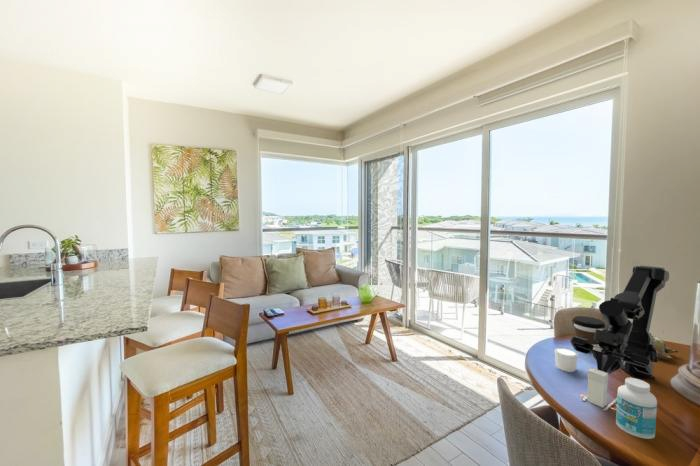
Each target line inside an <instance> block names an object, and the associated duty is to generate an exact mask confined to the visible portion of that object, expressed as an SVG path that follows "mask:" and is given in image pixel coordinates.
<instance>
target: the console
mask: <svg viewBox="0 0 700 466" xmlns="http://www.w3.org/2000/svg"><path fill="white" fill-rule="evenodd" d="M579 396H581V397H583V398H582V399H581V401H582V402H586V401H587V395H584V394H582V393H581V394H579ZM613 406H617V397H615V398H614V399H613V400H612V401H611V402H610V403H608V404H607V405H606V406H605V407H604V408H602V410H603V411H604V412H607V411H608V410H609V409H611V410H613V411H616V410H617V408H615V407H613Z"/></svg>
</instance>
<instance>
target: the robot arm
mask: <svg viewBox="0 0 700 466" xmlns="http://www.w3.org/2000/svg"><path fill="white" fill-rule="evenodd" d="M669 279H670V272H669V271H668V270H666V269H665V267H660V266H658V267H657V266H652V265H651V266H650V265H637V266H635V265H634V266H633V267H632V274H631V276H630V278H629V279H628V282H627V283H626V286H625V288H624V290H622V292H620V293H617V294H615V295H614V297H610V299H609V300H605V301H603V302H601V303H600V304H598V305H599V306H598V309H599V312H600V314H601V316H602V319H603V320H604V323H606V324H605V328H603V329H602V330H603V331H601V330H598V329H596V331H595V335H594V340H597V341H596V343H597V344H598V346H596V345H591V344H590V343H589V341H588V339H585V338H581V337H578V336H576V335H574V336H573V337H571V338H570V341H569V343H571V346H572V347H573V349H574V351H575V352H577V353H578V352H579V353H582V354H584V355H588V354H589V355H590V354H592V356H593V358H594V359H595V360H596V367H597V368H596V369H597V370H600V371H603V372H606V373H609V374H608V376H609V375H611V374H612V373H614V372H616V371H618V370H620V369H621V370H622V371H624V372H626V373H628V374H629V375H631V377H632V378H636V379H640V378H641V379H656V376H654V375H653V372H654V365H653V363H658V361H659V357H658V353H657V351H656V348H655V346H654V340H653V339H652V337H651V335H652V334H651V335H650V330H651V323H652V319H653V314H654V310H655V309H654V308H655V303H656V298H657V293H659V291H660V292H661V290H662V289H664V288H665V286H666V283H667V282H668V281H669ZM631 320H632V321H631ZM606 357H607V358H606Z"/></svg>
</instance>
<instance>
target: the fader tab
mask: <svg viewBox="0 0 700 466" xmlns="http://www.w3.org/2000/svg"><path fill="white" fill-rule="evenodd" d="M608 374H609V373H606V372H603V371H600V370H598V369H597V368H594V367H591V368H589V369H588V370H587V377H586V378H587V394H586V396H587V400H586V401H587V402H588V403H590V404H593V405H595V406H598V407H600V408H602V409H604V408H605V407H606V406H607V405H608V404H607V402H608V400H607V399H608V382H609V375H610V374H609V375H608Z"/></svg>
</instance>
